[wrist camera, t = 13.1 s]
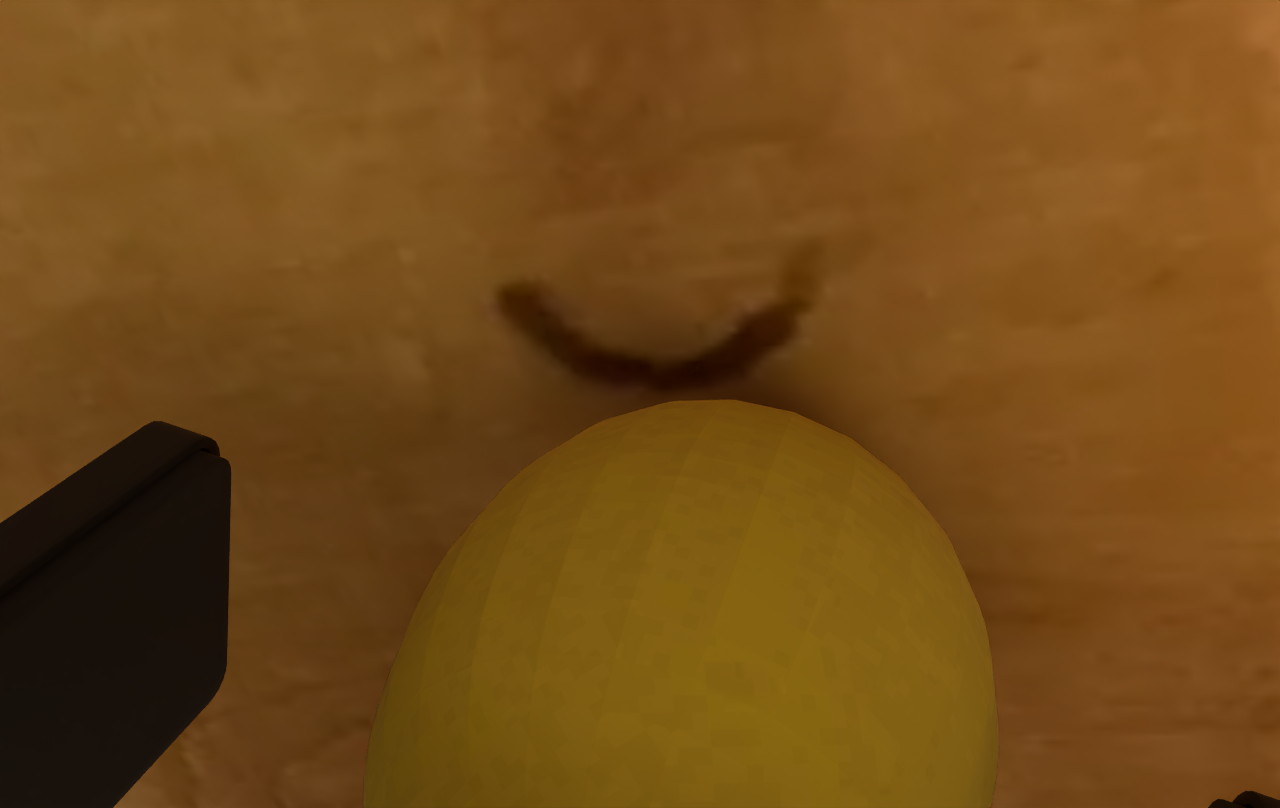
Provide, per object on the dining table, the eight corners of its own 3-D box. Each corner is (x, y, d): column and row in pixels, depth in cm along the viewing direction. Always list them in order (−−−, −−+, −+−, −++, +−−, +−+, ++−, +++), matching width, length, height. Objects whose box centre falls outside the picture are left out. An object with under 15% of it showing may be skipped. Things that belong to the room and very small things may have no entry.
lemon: (1031, 668, 14) (1060, 1448, 7) (626, 688, 16) (344, 1310, 9) (956, 252, 12) (896, 772, 5) (506, 333, 14) (36, 786, 7)
